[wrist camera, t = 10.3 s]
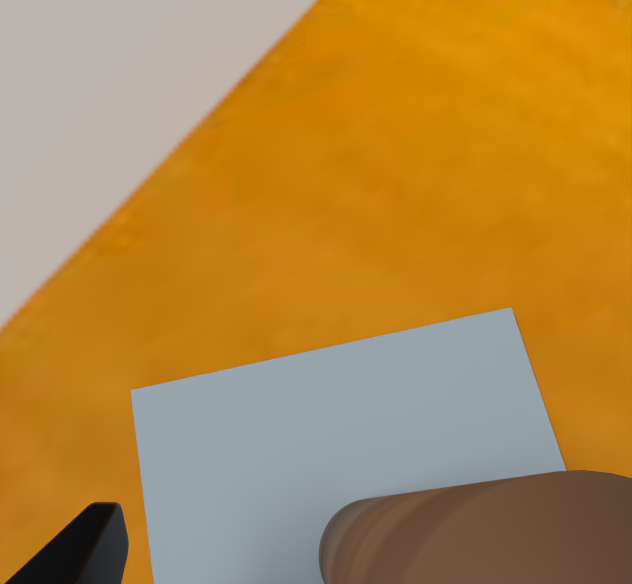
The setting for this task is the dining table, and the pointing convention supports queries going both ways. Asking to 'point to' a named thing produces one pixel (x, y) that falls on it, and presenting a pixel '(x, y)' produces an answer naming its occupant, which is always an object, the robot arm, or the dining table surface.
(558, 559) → the walnut rod
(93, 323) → the dining table surface
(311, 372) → the rubber mat
